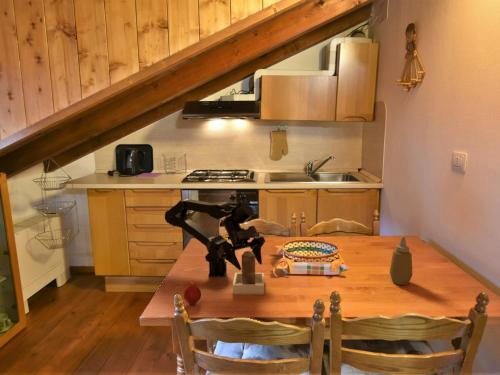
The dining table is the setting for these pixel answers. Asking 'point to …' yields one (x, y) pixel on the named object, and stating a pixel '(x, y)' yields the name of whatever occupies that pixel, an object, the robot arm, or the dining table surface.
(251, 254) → the pepper mill
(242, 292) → the tray
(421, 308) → the dining table surface
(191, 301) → the onion
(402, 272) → the squeeze bottle
